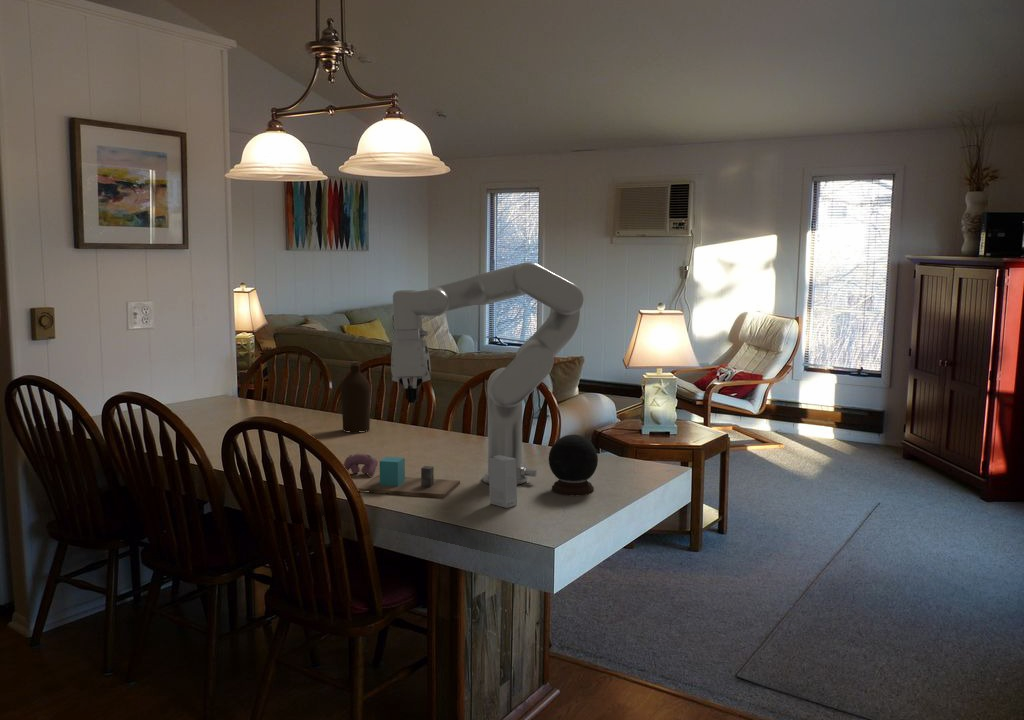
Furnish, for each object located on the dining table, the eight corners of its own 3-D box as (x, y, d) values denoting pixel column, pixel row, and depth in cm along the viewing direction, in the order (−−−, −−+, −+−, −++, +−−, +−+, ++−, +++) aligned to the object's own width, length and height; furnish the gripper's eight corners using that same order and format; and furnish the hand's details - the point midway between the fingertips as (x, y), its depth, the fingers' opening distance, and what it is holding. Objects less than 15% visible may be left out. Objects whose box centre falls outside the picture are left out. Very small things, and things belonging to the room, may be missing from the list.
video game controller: (376, 480, 241) (380, 456, 243) (370, 476, 237) (374, 452, 239) (345, 477, 243) (349, 454, 245) (338, 474, 239) (343, 450, 241)
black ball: (585, 499, 217) (586, 442, 215) (539, 492, 223) (540, 436, 222) (605, 487, 228) (606, 433, 227) (561, 481, 235) (561, 428, 233)
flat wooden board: (459, 484, 231) (459, 462, 230) (444, 498, 217) (444, 475, 217) (378, 478, 236) (377, 457, 236) (358, 491, 223) (357, 469, 222)
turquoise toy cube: (404, 481, 230) (404, 457, 229) (398, 486, 225) (397, 462, 224) (387, 480, 231) (386, 456, 230) (379, 485, 226) (379, 461, 225)
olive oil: (353, 434, 295) (352, 364, 292) (335, 430, 302) (333, 361, 299) (377, 430, 303) (376, 361, 300) (358, 426, 310) (357, 359, 307)
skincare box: (517, 505, 211) (518, 458, 210) (505, 509, 208) (505, 461, 207) (500, 500, 216) (500, 454, 214) (487, 504, 212) (487, 457, 211)
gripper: (439, 333, 230) (442, 399, 233) (387, 334, 233) (391, 400, 236) (431, 336, 223) (434, 404, 225) (377, 337, 226) (381, 404, 228)
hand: (412, 402), depth 230 cm, fingers closed
